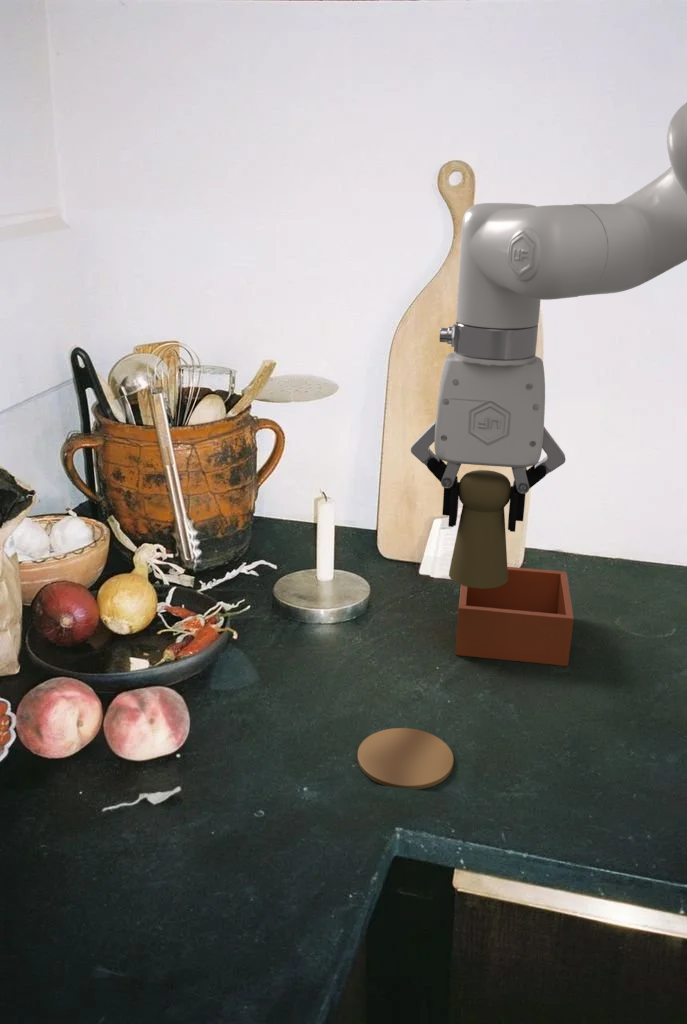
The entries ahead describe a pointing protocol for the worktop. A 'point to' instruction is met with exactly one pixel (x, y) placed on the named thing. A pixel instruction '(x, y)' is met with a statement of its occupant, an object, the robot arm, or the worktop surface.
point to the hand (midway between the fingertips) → (482, 522)
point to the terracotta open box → (518, 618)
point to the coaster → (405, 758)
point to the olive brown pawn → (481, 531)
